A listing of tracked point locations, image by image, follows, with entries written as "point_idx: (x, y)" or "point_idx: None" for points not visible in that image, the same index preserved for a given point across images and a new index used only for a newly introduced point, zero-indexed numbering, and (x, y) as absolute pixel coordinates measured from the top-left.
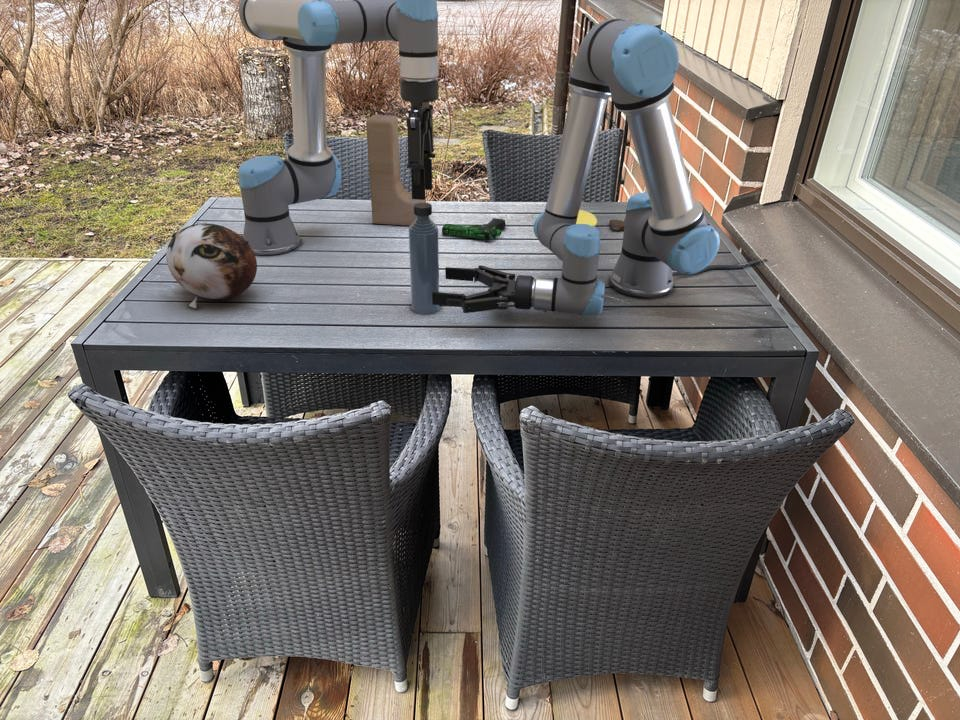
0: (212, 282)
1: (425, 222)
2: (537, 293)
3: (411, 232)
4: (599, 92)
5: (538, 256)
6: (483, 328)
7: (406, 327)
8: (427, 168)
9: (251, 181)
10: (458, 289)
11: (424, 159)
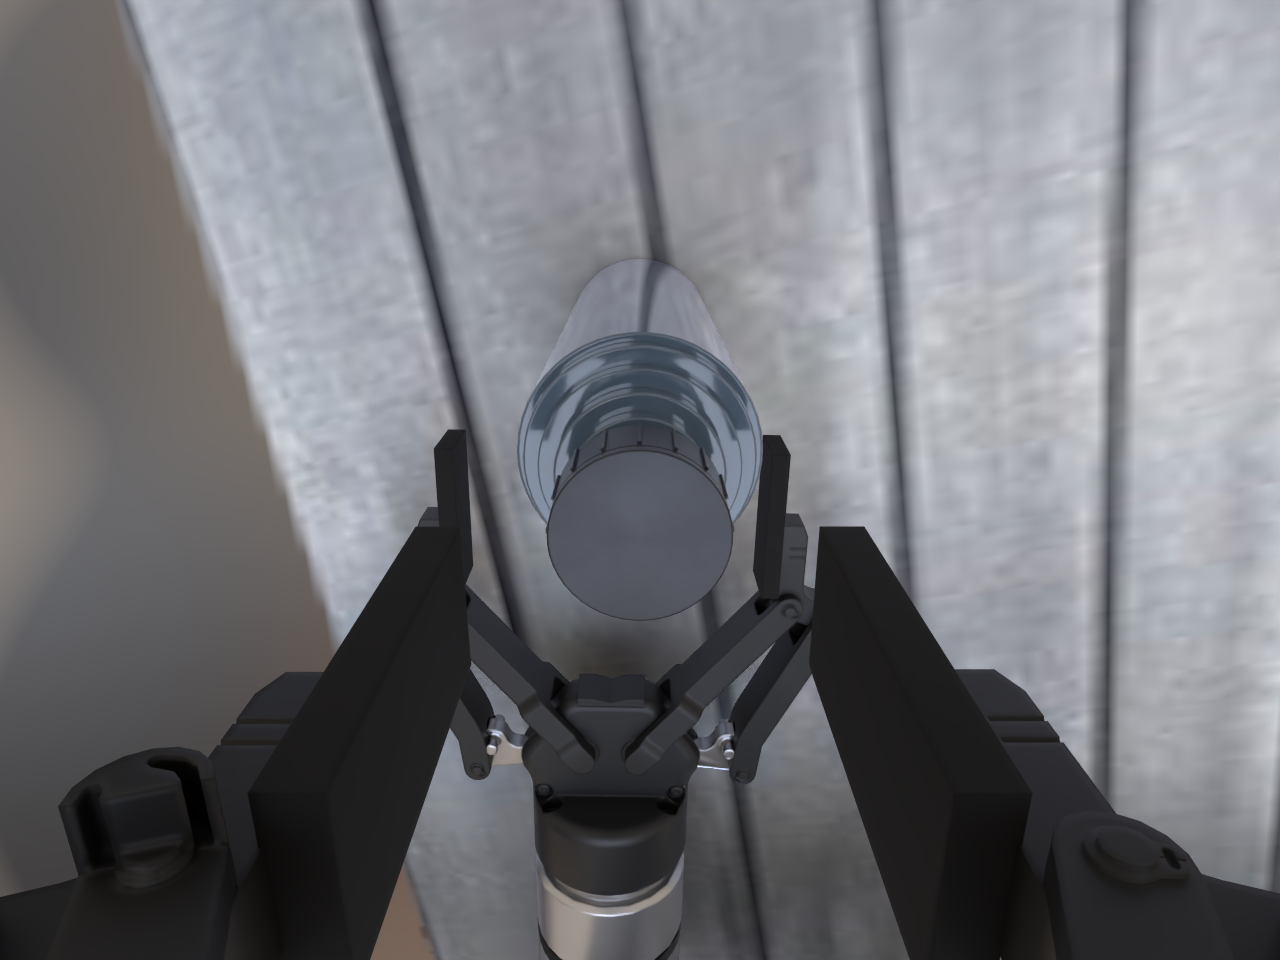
0: None
1: None
2: (540, 886)
3: (547, 376)
4: None
5: (1264, 736)
6: (497, 602)
7: (423, 283)
8: (884, 810)
9: None
10: (864, 443)
11: (939, 894)
